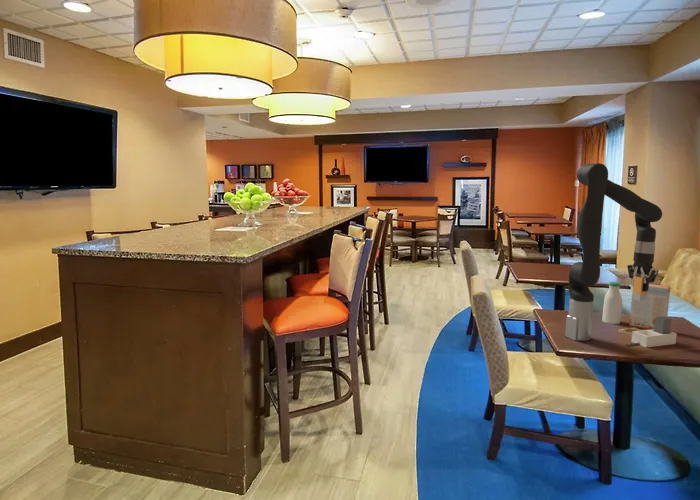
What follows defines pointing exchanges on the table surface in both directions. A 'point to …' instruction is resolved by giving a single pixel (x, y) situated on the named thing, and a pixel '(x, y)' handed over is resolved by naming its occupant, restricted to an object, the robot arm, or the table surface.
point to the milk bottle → (612, 304)
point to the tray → (628, 331)
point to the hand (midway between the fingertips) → (640, 289)
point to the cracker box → (650, 307)
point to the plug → (638, 289)
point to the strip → (655, 334)
